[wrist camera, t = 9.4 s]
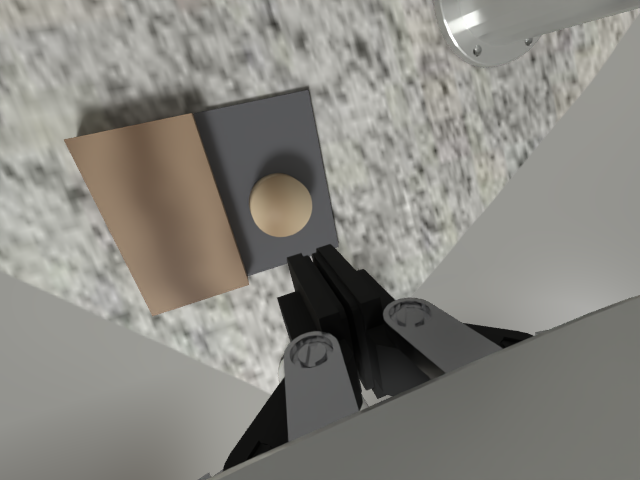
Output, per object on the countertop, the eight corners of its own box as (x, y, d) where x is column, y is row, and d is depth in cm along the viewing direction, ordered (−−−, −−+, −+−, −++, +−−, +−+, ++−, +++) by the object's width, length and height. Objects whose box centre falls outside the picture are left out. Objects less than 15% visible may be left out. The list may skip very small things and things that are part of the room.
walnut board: (193, 114, 24) (191, 113, 22) (247, 274, 29) (249, 284, 27) (76, 138, 22) (63, 139, 20) (156, 303, 27) (152, 316, 26)
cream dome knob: (304, 170, 27) (311, 174, 25) (307, 226, 29) (313, 233, 27) (245, 175, 26) (247, 179, 24) (252, 233, 28) (254, 240, 26)
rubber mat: (307, 90, 25) (308, 89, 25) (337, 245, 31) (338, 246, 31) (193, 114, 24) (193, 113, 23) (247, 274, 29) (247, 276, 29)
